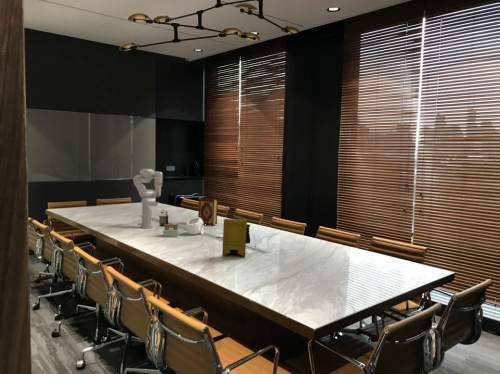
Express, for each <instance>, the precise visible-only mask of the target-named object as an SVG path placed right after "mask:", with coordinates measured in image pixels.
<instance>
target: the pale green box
mask: <svg viewBox="0 0 500 374" xmlns="http://www.w3.org/2000/svg"><path fill="white" fill-rule="evenodd" d="M179 236H180V229H179V228H178V230H173V228H169V230H165V228H163V230H162V238H179Z"/></svg>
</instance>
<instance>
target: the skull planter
mask: <svg viewBox="0 0 500 374" xmlns="http://www.w3.org/2000/svg"><path fill="white" fill-rule="evenodd" d="M203 224H204V223H203V221H202V220H201V218H199V217H198V216H196V217H192V218H190V219H189V220H187V222H186V223H185V230H186V232H187V233H188V235H193V236H195V235H197V234H198V235H199V234H201V235H203V234H204V233H205V231H204V229H205V225H203Z"/></svg>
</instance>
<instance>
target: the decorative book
mask: <svg viewBox="0 0 500 374" xmlns="http://www.w3.org/2000/svg"><path fill="white" fill-rule="evenodd" d="M218 203H219V199H218V198H213V197H211V198H210V197H209V198H208V197H198V212H197V213H198V214H197V217H199V218H201V220H202V221H203V223H204V224H206V225H205V226H208V225H213V226H216V225H215V224H217V225H218V206H219V204H218Z"/></svg>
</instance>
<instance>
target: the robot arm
mask: <svg viewBox="0 0 500 374" xmlns="http://www.w3.org/2000/svg"><path fill="white" fill-rule="evenodd" d="M163 176H164V175H163V172H162V171H159V170H158V171H157V170H156V171H155V170H154V169H153V168H141V169H140V170H139V174H136V175H135V176H133V184H134V187H136V189H137V192H138V193H139V194H138V195H139V197H140V198H141V212H142V213H141V223H139V222H138V223H137V226H140V229H153V225H152V216H153V215H152V213H153V212H152V208H151V207H157V206H158V205H159V202H160V201H161V194H162V187H163ZM152 180H154V183H153V185H154V189H147V187H146V186H145V183H147V184H148V183H151V181H152Z"/></svg>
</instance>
